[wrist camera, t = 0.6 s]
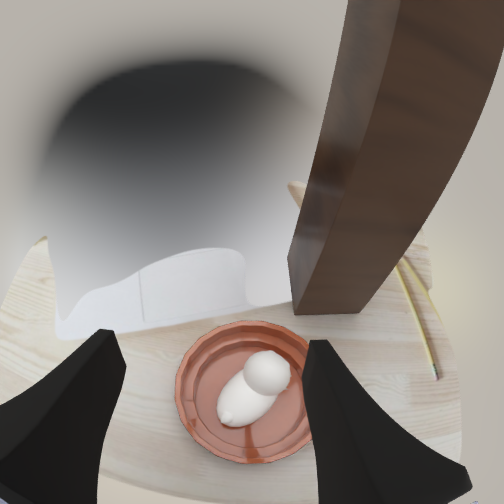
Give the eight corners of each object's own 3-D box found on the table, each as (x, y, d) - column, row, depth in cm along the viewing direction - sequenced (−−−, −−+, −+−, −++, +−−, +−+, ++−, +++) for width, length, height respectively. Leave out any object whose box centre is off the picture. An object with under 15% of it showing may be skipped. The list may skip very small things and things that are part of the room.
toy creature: (295, 380, 25) (313, 361, 20) (241, 441, 21) (245, 440, 16) (259, 352, 27) (267, 326, 22) (202, 409, 23) (196, 399, 18)
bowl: (321, 454, 21) (335, 455, 18) (179, 458, 20) (172, 460, 17) (309, 335, 29) (319, 320, 26) (185, 334, 28) (180, 318, 25)
